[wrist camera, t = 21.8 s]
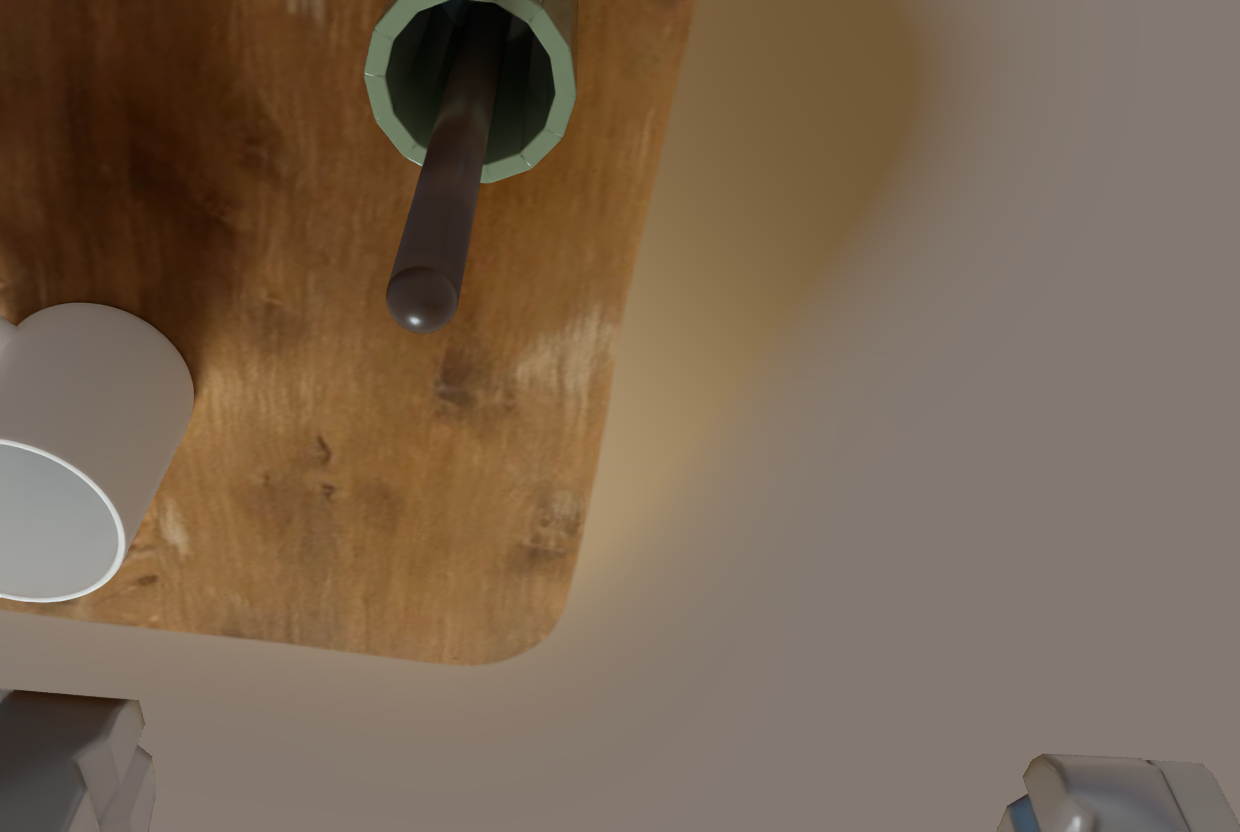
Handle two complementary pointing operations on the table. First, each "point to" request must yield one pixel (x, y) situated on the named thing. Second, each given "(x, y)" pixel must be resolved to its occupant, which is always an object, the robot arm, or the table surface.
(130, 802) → the robot arm
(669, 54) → the table surface
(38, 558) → the cup
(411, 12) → the crock
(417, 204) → the dark wooden dowel
